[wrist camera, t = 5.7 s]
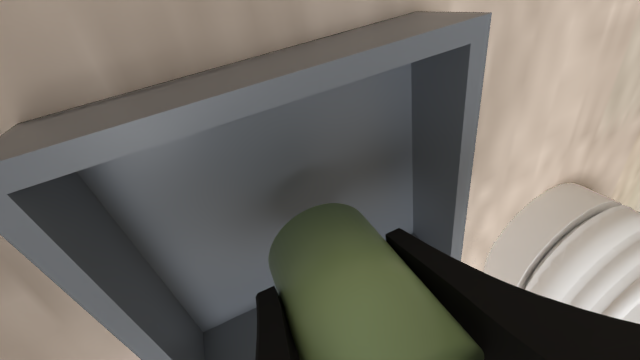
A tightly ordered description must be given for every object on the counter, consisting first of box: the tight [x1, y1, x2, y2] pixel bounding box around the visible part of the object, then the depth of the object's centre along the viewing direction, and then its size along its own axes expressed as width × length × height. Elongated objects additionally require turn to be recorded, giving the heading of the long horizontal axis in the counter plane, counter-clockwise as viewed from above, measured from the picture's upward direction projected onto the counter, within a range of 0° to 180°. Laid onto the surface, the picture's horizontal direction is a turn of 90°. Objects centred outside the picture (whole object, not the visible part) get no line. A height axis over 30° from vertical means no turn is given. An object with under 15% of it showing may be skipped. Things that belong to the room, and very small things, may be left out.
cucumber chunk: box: [268, 203, 484, 360], centre depth 10 cm, size 4×4×6 cm
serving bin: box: [0, 11, 492, 360], centre depth 14 cm, size 16×14×4 cm
